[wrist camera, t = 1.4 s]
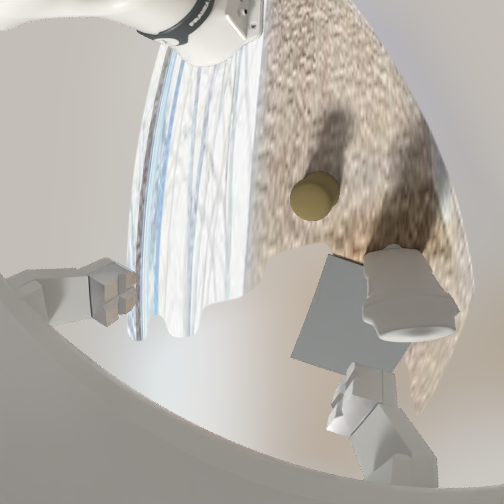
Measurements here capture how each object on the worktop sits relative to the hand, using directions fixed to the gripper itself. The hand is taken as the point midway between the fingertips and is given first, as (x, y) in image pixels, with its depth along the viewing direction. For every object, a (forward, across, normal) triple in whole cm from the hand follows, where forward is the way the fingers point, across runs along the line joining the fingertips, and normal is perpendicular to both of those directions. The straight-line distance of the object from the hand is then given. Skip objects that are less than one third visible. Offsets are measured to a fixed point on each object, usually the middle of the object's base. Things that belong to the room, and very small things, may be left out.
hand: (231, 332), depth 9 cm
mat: (+36, -13, +19) cm, 43 cm away
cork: (+36, +2, -1) cm, 36 cm away
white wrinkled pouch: (+36, -13, +5) cm, 39 cm away
